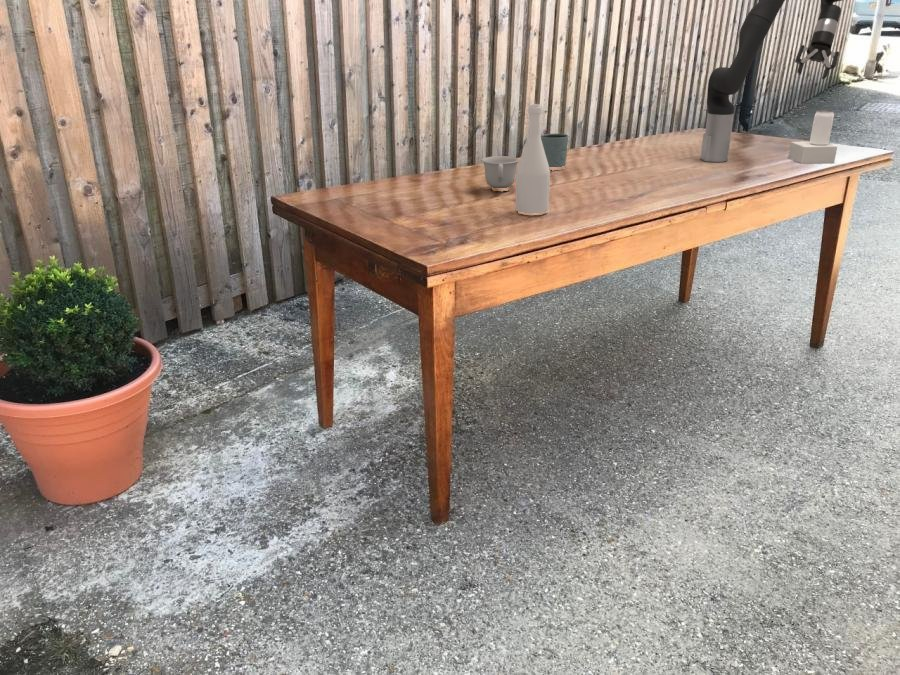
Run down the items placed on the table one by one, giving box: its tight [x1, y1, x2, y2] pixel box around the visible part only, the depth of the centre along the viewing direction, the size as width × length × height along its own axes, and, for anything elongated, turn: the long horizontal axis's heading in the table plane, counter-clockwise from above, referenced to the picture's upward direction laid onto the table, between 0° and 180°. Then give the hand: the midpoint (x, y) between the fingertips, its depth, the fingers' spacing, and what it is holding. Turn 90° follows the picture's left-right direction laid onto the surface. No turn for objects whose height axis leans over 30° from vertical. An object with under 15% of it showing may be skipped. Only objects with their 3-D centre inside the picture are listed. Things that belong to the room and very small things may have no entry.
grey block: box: [787, 140, 838, 165], centre depth 271 cm, size 12×12×6 cm
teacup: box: [481, 155, 520, 188], centre depth 232 cm, size 12×15×10 cm
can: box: [809, 109, 835, 145], centre depth 267 cm, size 6×6×12 cm
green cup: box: [540, 133, 569, 167], centre depth 264 cm, size 10×10×12 cm
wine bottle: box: [515, 103, 551, 213], centre depth 202 cm, size 10×10×30 cm
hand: (811, 76), depth 272 cm, fingers open, 8 cm apart
